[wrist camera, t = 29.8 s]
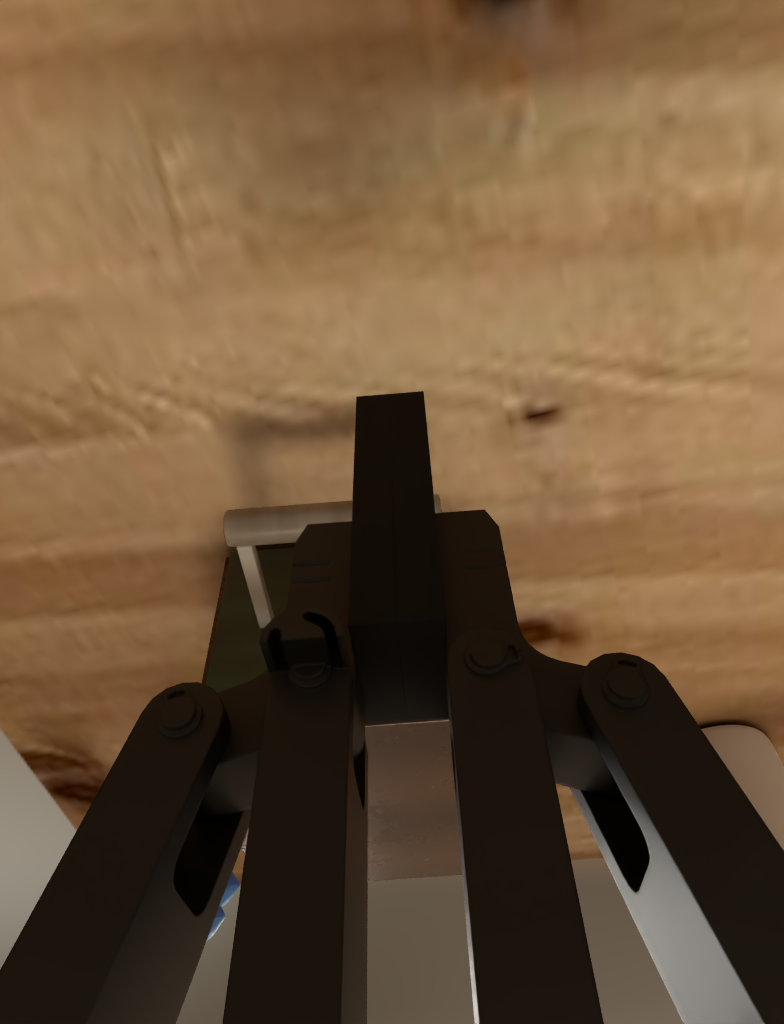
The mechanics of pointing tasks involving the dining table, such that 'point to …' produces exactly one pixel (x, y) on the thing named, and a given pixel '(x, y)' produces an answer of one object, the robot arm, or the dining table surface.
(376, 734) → the cabinet
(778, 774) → the pill bottle
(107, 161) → the dining table surface
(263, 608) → the drawer
